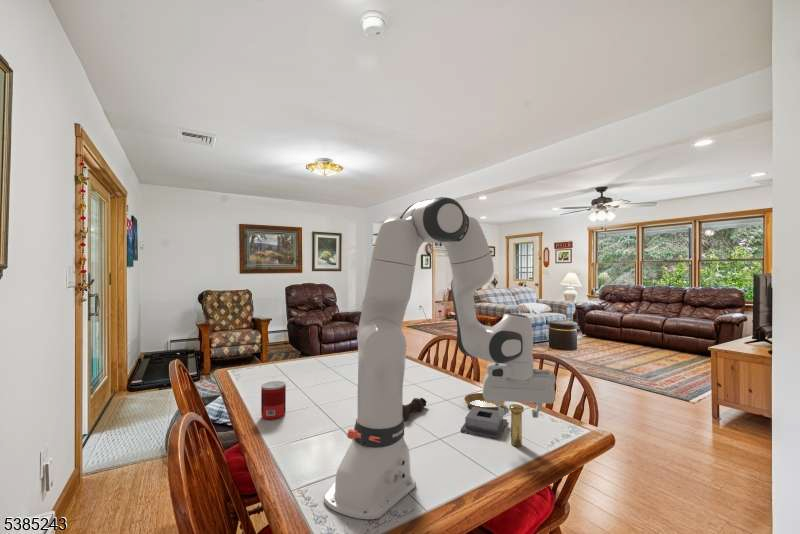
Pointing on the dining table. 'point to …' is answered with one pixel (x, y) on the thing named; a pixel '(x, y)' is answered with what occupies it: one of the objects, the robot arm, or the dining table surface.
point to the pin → (516, 424)
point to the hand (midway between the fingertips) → (518, 416)
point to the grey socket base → (484, 423)
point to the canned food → (273, 400)
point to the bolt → (413, 407)
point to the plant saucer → (479, 396)
